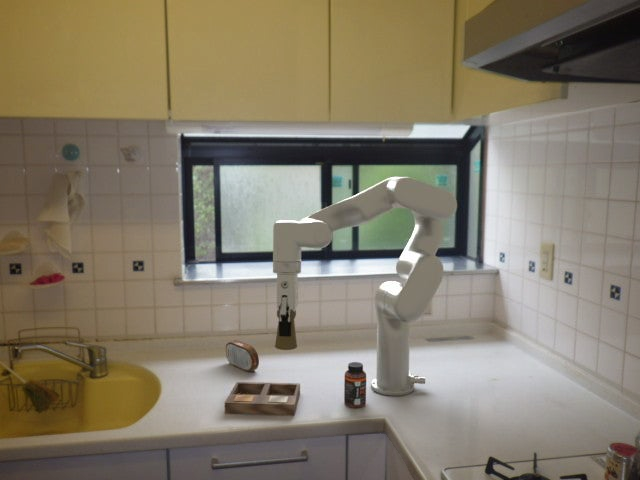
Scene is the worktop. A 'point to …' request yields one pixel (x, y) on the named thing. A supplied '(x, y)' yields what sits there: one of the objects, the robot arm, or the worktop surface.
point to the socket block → (263, 398)
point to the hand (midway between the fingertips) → (286, 332)
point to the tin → (242, 355)
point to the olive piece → (284, 341)
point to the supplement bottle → (355, 385)
